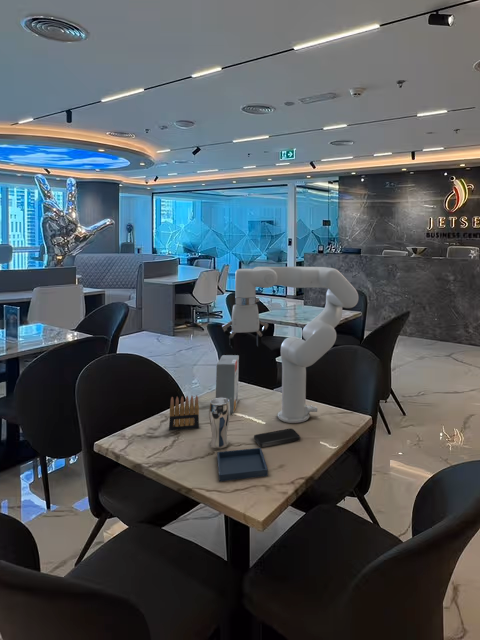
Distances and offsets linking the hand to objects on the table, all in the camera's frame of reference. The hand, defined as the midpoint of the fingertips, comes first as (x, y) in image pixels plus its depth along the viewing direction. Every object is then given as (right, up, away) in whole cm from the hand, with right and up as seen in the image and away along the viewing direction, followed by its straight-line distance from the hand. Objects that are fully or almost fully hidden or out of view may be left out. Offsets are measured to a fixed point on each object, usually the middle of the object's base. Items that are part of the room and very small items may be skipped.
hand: (245, 347), depth 164 cm
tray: (+3, -30, -29) cm, 42 cm away
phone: (+12, -30, -10) cm, 34 cm away
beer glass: (-7, -30, -15) cm, 34 cm away
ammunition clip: (-23, -30, -2) cm, 37 cm away
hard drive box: (-10, -30, +19) cm, 37 cm away
